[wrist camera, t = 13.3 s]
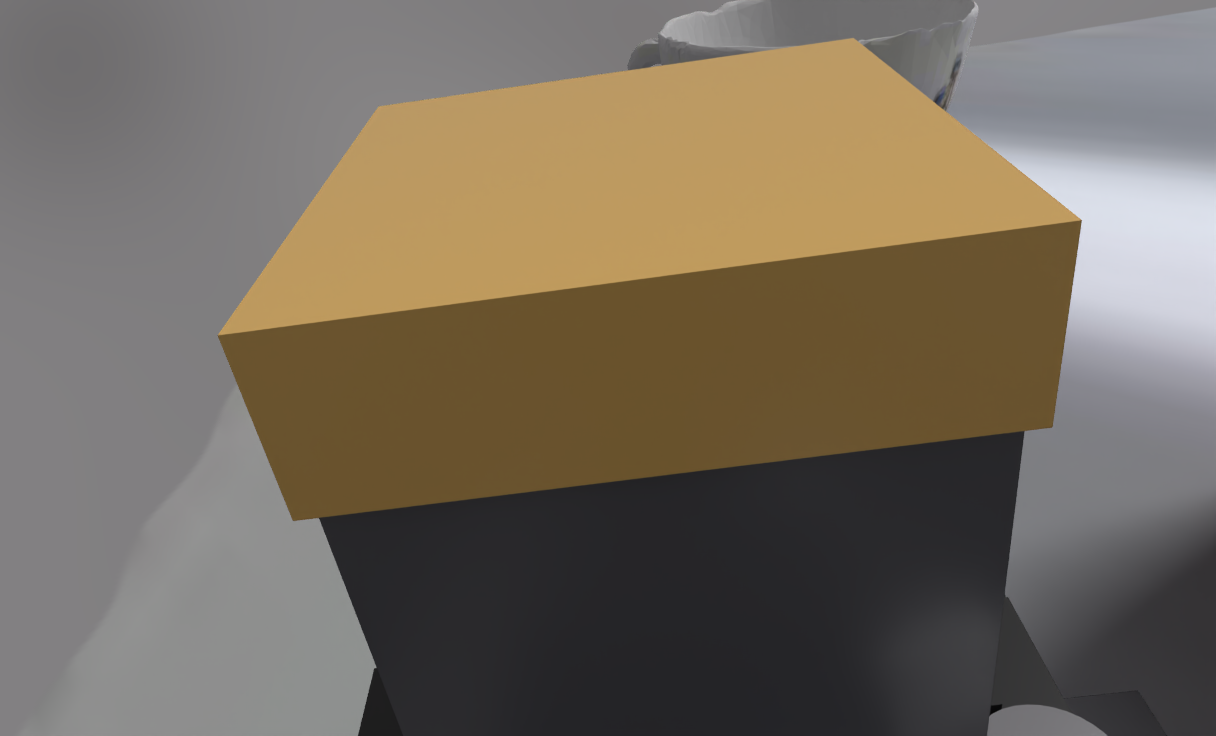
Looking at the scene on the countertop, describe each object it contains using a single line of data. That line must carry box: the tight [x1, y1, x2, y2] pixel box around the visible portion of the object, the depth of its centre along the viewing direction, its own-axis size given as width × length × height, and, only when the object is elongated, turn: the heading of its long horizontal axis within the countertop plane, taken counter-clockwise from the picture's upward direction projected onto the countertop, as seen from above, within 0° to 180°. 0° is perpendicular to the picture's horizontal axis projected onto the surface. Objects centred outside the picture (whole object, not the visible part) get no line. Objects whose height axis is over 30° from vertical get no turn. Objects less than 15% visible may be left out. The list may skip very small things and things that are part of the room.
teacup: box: [628, 0, 978, 111], centre depth 39 cm, size 15×12×8 cm
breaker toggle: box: [218, 38, 1082, 736], centre depth 9 cm, size 4×4×12 cm
